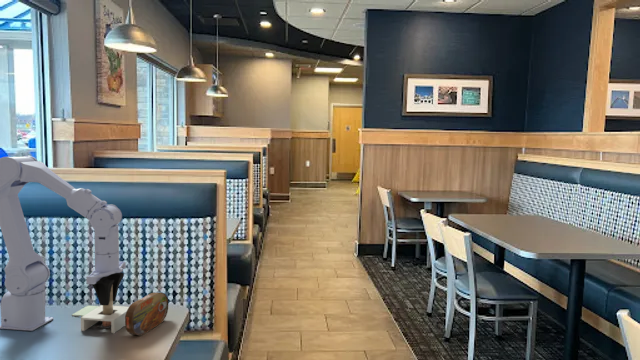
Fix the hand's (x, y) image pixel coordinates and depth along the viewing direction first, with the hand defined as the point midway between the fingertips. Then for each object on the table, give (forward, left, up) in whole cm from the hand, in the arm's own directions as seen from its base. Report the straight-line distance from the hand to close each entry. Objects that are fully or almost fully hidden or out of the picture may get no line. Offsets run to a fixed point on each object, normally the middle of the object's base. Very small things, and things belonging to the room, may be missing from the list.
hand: (107, 302), depth 118 cm
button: (0, 0, -6) cm, 6 cm away
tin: (+11, 0, -6) cm, 13 cm away
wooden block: (0, 0, -4) cm, 4 cm away
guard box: (0, 0, -6) cm, 6 cm away
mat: (-10, +7, -6) cm, 14 cm away
